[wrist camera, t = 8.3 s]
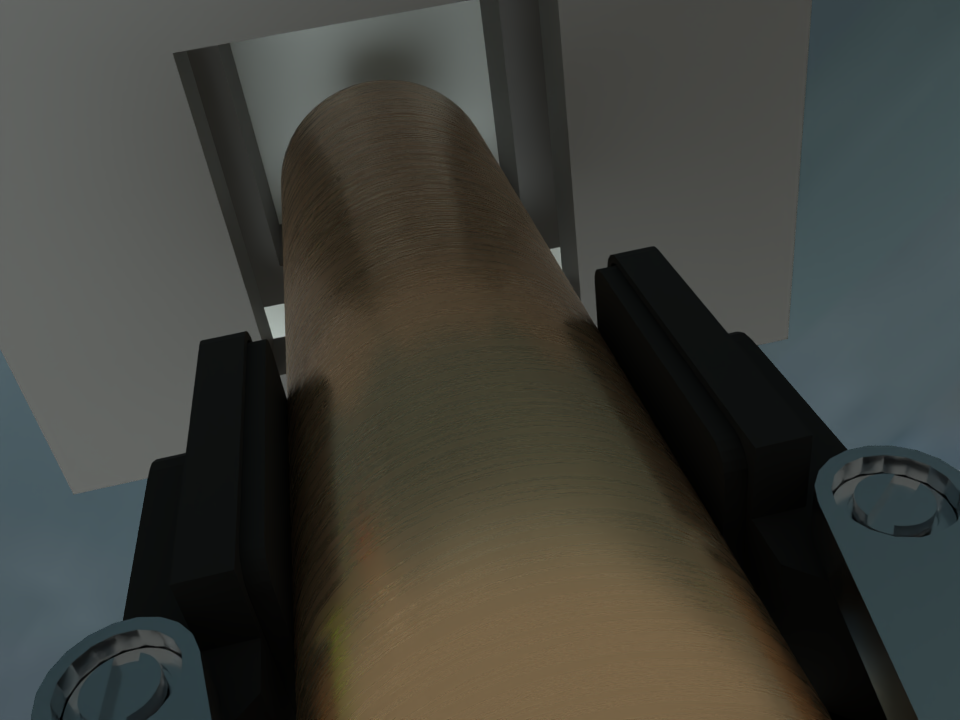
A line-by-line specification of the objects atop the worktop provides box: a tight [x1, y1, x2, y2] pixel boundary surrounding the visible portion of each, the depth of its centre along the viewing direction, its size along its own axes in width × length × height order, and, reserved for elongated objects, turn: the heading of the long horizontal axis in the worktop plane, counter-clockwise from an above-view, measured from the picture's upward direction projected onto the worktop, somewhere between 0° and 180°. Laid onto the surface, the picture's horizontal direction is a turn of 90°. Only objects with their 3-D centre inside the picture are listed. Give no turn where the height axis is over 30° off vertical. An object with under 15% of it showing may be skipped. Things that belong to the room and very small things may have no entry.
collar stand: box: [0, 0, 812, 494], centre depth 20 cm, size 18×14×8 cm
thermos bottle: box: [281, 80, 833, 720], centre depth 10 cm, size 4×4×18 cm
